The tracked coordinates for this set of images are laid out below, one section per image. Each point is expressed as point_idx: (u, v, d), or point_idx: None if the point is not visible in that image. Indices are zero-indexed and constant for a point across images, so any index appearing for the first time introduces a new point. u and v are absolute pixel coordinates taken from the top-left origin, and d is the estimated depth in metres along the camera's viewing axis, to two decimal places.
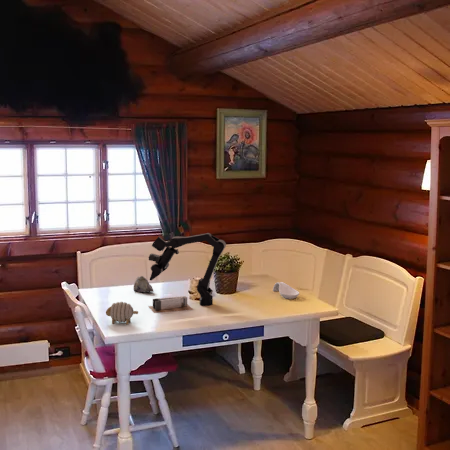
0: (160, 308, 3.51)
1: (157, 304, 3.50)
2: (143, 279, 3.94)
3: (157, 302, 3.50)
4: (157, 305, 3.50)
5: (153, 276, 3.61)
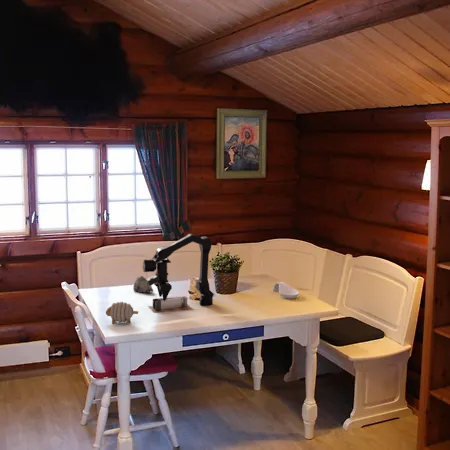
0: (160, 308, 3.51)
1: (157, 304, 3.50)
2: (143, 279, 3.94)
3: (157, 302, 3.50)
4: (157, 305, 3.50)
5: (165, 295, 3.49)
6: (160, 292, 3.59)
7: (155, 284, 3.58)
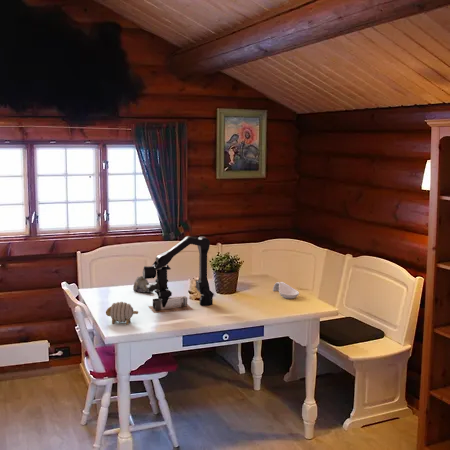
0: (160, 308, 3.51)
1: (157, 304, 3.50)
2: (143, 279, 3.94)
3: (157, 302, 3.50)
4: (157, 305, 3.50)
5: (165, 301, 3.51)
6: None
7: (155, 291, 3.58)
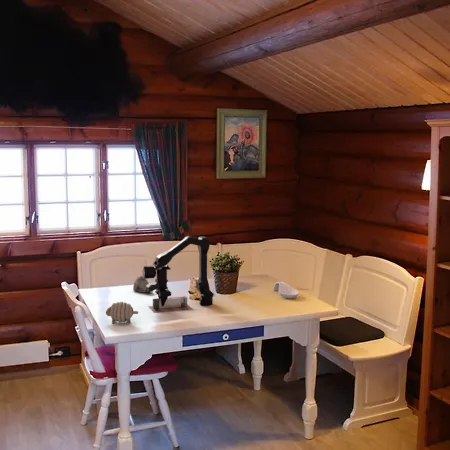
0: (158, 307, 3.53)
1: (155, 303, 3.52)
2: (143, 279, 3.94)
3: (155, 301, 3.52)
4: (155, 304, 3.52)
5: (163, 300, 3.52)
6: None
7: (156, 292, 3.56)
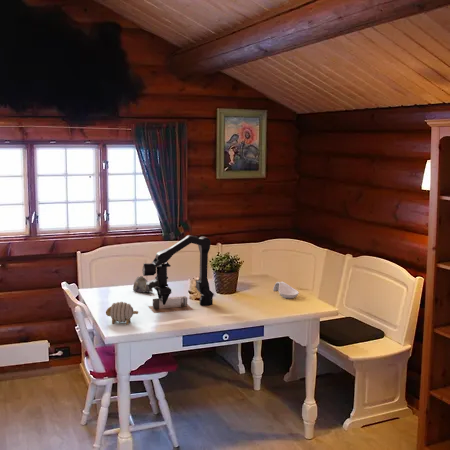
0: (158, 307, 3.53)
1: (155, 303, 3.52)
2: (142, 279, 3.94)
3: (155, 301, 3.52)
4: (155, 304, 3.52)
5: (165, 299, 3.50)
6: (160, 296, 3.59)
7: (155, 288, 3.59)
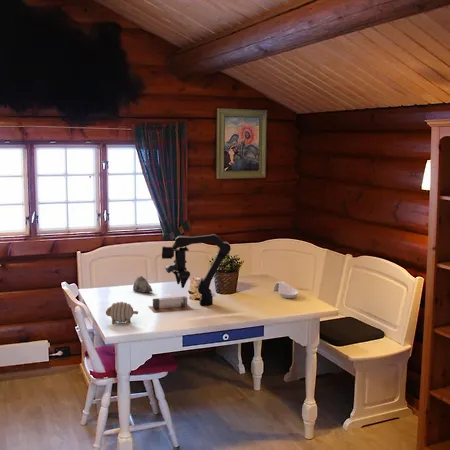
0: (158, 307, 3.53)
1: (155, 303, 3.52)
2: (142, 279, 3.94)
3: (155, 301, 3.52)
4: (155, 304, 3.52)
5: (184, 282, 3.56)
6: (178, 280, 3.65)
7: (173, 272, 3.65)
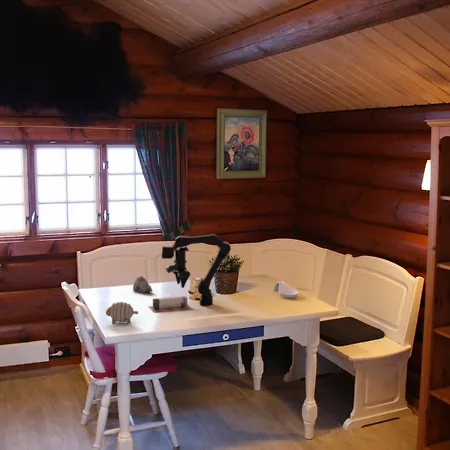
0: (158, 307, 3.53)
1: (155, 303, 3.52)
2: (142, 279, 3.94)
3: (155, 301, 3.52)
4: (155, 304, 3.52)
5: (184, 282, 3.56)
6: (178, 279, 3.65)
7: (173, 272, 3.65)
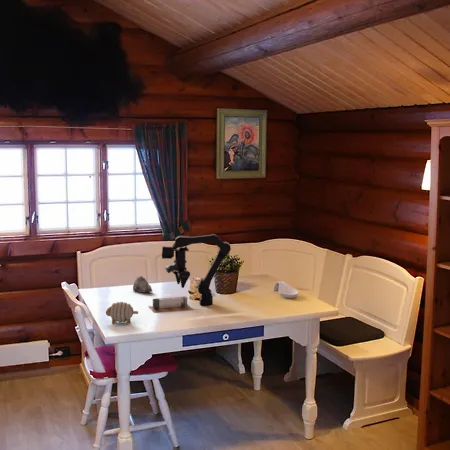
0: (158, 307, 3.53)
1: (155, 303, 3.52)
2: (142, 279, 3.94)
3: (155, 301, 3.52)
4: (155, 304, 3.52)
5: (184, 282, 3.56)
6: (178, 279, 3.65)
7: (173, 272, 3.65)
